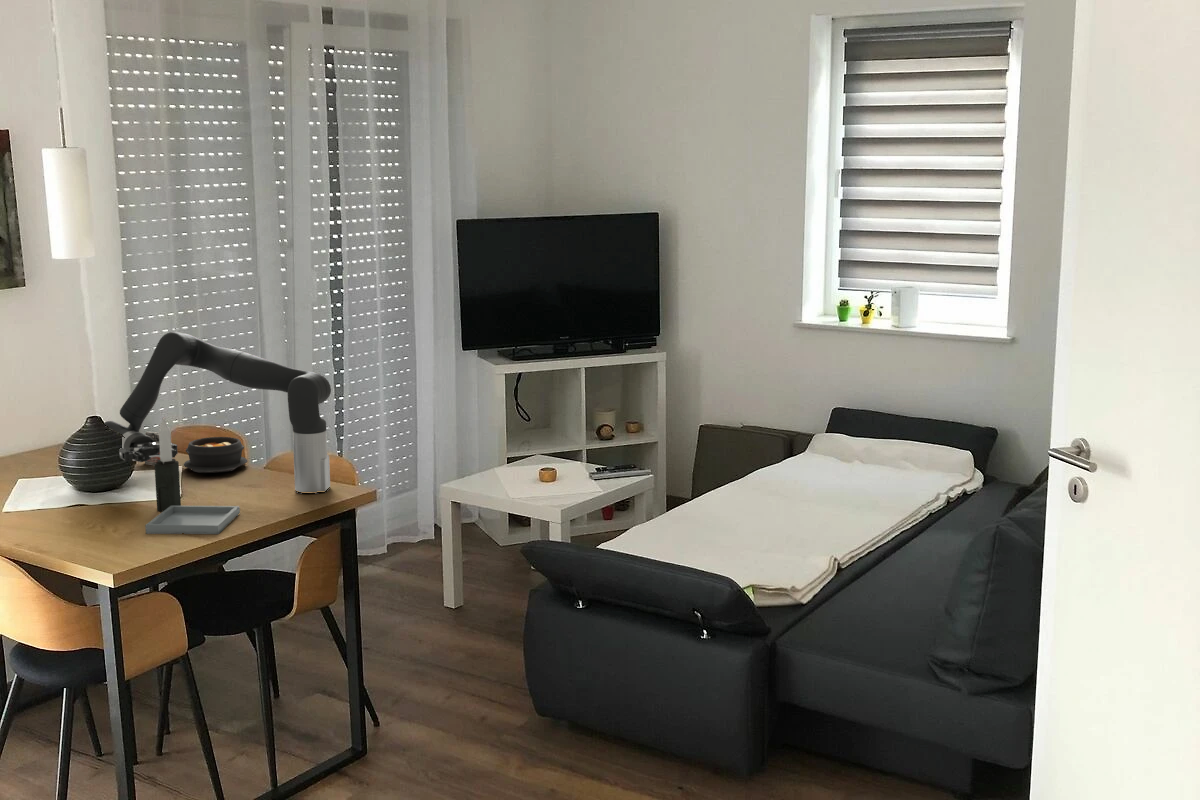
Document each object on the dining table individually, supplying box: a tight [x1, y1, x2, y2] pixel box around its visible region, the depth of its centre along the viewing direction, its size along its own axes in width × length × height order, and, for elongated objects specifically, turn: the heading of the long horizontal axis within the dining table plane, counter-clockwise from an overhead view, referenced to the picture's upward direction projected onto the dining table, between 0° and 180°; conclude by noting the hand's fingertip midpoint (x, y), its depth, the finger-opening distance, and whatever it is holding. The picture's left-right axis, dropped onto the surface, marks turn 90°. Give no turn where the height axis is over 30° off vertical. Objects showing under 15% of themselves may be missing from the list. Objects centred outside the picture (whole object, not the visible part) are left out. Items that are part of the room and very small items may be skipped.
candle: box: [153, 417, 182, 513], centre depth 317 cm, size 5×5×25 cm
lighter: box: [144, 431, 160, 466], centre depth 368 cm, size 8×3×10 cm, turn 65°
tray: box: [145, 505, 241, 535], centre depth 306 cm, size 18×18×2 cm
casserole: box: [183, 436, 249, 474], centre depth 363 cm, size 25×19×8 cm
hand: (158, 456), depth 321 cm, fingers open, 8 cm apart
